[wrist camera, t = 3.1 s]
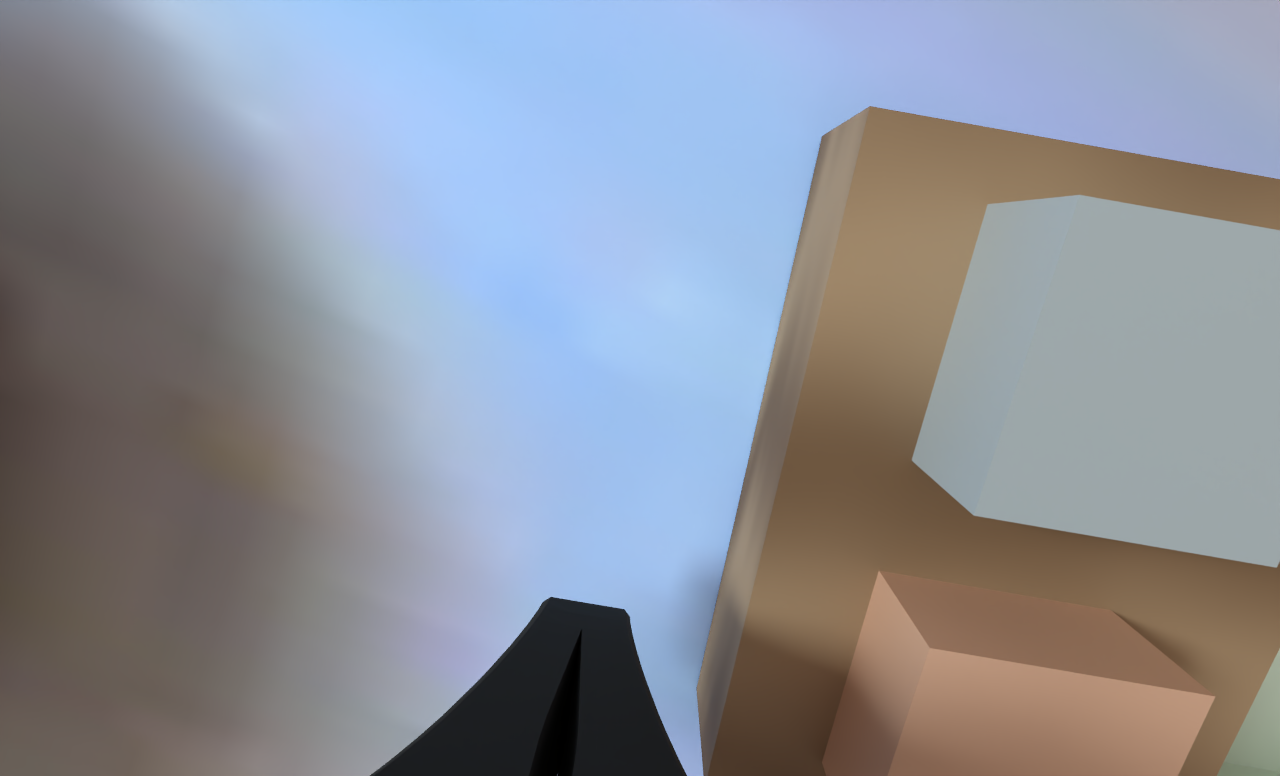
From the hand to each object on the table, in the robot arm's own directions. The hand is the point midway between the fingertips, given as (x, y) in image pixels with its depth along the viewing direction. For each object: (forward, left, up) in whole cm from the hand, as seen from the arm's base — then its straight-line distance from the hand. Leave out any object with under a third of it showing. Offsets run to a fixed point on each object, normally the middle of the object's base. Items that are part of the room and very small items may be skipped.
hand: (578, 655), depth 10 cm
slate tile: (+6, -7, -1) cm, 9 cm away
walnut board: (+3, -7, -3) cm, 9 cm away
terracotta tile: (0, -7, -1) cm, 7 cm away
